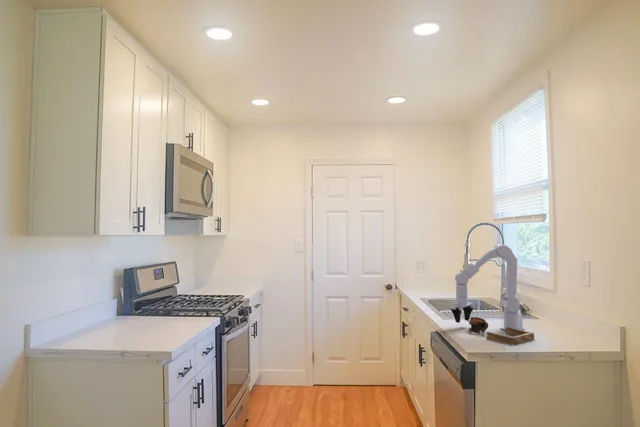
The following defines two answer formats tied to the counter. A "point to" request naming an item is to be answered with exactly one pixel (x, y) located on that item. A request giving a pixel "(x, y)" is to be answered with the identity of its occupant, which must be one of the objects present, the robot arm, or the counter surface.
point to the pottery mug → (477, 325)
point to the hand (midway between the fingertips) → (462, 321)
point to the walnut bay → (518, 337)
